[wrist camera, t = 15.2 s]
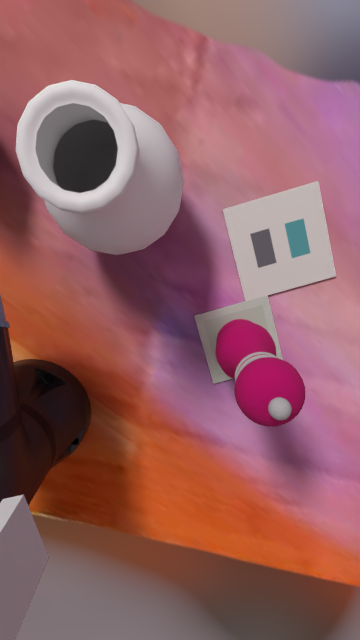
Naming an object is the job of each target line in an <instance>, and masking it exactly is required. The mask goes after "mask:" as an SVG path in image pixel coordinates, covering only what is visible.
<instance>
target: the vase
mask: <svg viewBox="0 0 360 640" xmlns="http://www.w3.org/2000/svg"><path fill="white" fill-rule="evenodd" d="M16 153H17V156H18V160H19V163H20V167H21V170H22V173H23V176H24V177H25V179H26V180H27V181H28V183H29V184H30V185H31V187H32V188H33V189H34V191H35V192H36V193H37V195H38V196H39V197H41V198H42V199H44V201H45V205H46V208H47V210H48V212H49V213H50V215H51V216H52V217H53V219H54V220H55V221H56V223H57V224H58V225H59V227H60V228H61V229H62V231H63V232H64V234H65V235H67V236H69V237H70V238H72V239H73V240H75V241H77V242H78V243H80V244H81V245H83V246H84V247H86V248H88V249H89V250H92V251H97V252H103V253H108V254H113V255H120V254H125V253H129V252H134V251H138V250H143V249H145V248H146V247H148V246H149V245H150V244H152V243H153V242H155V241H156V240H157V239H159V238H160V237H162V236H163V235H164V234H165V233H166V232H167V230H168V228H169V227H170V225H171V223H172V222H173V220H174V219H175V217H176V215H177V214H178V212H179V209H180V203H181V197H182V191H183V186H184V179H183V174H182V169H181V164H180V159H179V154H178V151H177V149H176V148H175V146H174V145H173V143H172V142H171V140H170V138H169V137H168V135H167V134H166V132H165V131H164V129H163V128H162V126H161V124H160V123H158V122H157V121H155V120H154V119H152V118H151V117H150V116H148V115H147V114H145V113H144V112H142V111H141V110H140V109H138V108H137V107H135V106H132V105H127V104H122V103H119V101H118V100H117V99H116V98H114V97H113V96H111V95H110V94H108V93H107V92H106V91H104V90H103V89H101V88H100V87H98V86H97V85H94V84H89V83H84V82H79V81H74V80H69V81H65V82H61V83H57V84H53V85H49V86H47V87H46V88H45V89H43V90H42V91H41V92H40V93H39V94H37V95H36V96H35V97H34V98H33V99H31V100H30V101H29V102H28V104H27V106H26V108H25V110H24V112H23V114H22V116H21V118H20V120H19V123H18V125H17V139H16Z"/></svg>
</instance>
